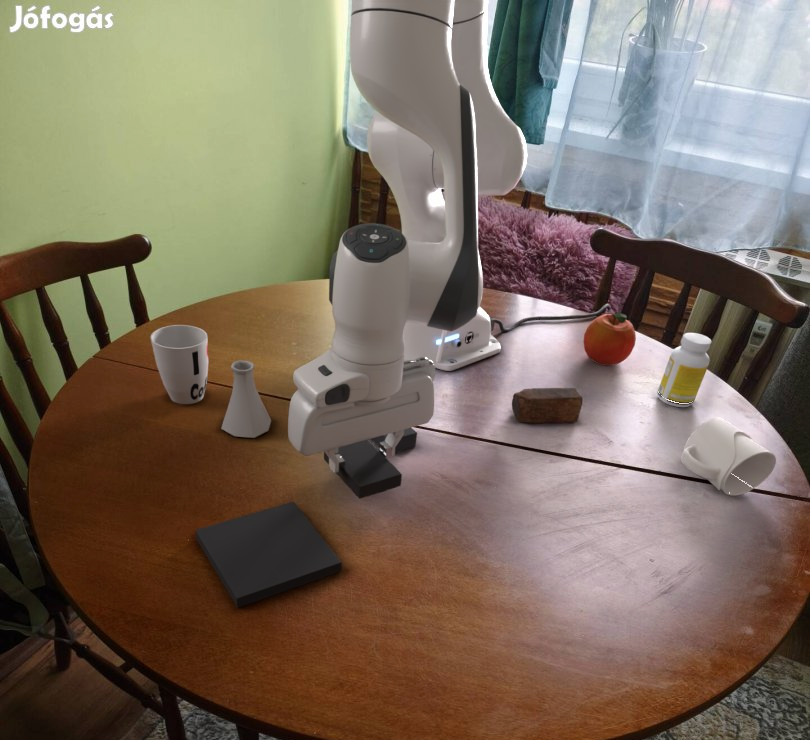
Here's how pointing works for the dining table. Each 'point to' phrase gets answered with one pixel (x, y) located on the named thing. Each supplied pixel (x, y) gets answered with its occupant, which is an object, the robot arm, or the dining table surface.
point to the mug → (727, 457)
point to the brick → (547, 405)
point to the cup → (182, 361)
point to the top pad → (405, 442)
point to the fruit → (609, 339)
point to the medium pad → (366, 469)
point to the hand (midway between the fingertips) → (361, 462)
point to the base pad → (267, 553)
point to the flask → (245, 405)
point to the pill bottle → (685, 370)
